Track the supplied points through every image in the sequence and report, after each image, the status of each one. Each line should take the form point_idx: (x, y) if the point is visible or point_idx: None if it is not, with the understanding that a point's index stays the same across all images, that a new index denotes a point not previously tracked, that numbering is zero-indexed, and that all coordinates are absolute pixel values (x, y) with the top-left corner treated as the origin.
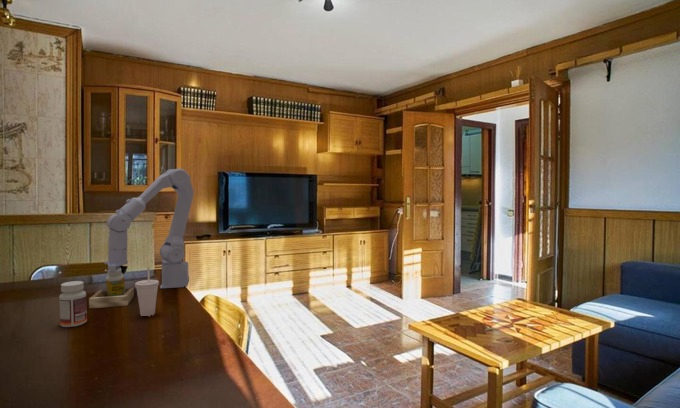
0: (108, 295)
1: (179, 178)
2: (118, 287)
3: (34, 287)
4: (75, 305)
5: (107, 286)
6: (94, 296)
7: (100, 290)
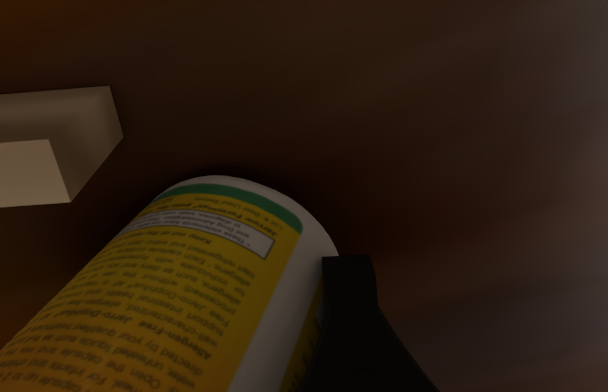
0: (151, 202)
1: None
2: None
3: None
4: None
5: (51, 301)
6: None
7: (5, 176)
